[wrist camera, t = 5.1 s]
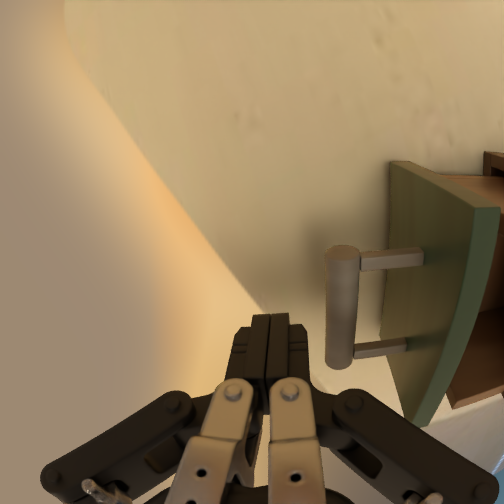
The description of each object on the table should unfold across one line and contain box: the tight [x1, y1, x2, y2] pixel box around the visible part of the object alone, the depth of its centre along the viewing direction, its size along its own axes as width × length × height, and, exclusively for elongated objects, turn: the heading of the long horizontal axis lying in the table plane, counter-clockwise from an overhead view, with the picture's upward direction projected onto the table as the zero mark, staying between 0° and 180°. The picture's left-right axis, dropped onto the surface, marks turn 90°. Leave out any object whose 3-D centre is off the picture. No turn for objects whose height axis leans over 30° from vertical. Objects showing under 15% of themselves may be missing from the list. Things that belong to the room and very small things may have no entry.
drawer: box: [325, 161, 504, 428], centre depth 12 cm, size 18×11×8 cm, turn 98°
